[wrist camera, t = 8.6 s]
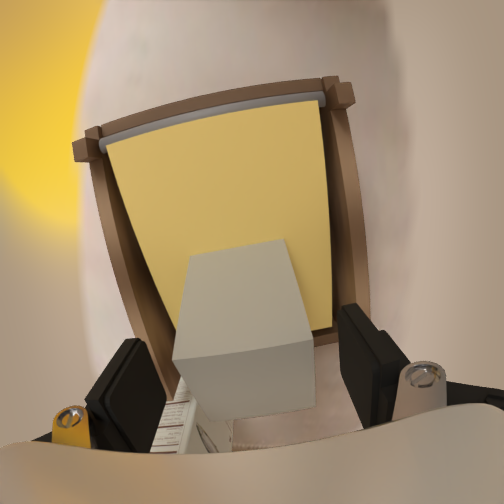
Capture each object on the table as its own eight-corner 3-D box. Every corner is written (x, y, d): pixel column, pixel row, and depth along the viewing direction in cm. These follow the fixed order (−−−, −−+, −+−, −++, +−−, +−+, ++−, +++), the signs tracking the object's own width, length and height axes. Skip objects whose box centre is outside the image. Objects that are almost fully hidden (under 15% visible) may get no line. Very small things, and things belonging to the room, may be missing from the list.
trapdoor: (104, 136, 13) (96, 140, 13) (319, 90, 13) (324, 91, 12) (181, 340, 21) (180, 351, 20) (334, 315, 20) (337, 325, 20)
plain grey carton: (190, 255, 16) (171, 360, 10) (283, 238, 16) (313, 339, 10) (213, 322, 19) (209, 421, 13) (292, 308, 19) (316, 407, 13)
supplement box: (236, 418, 26) (231, 531, 14) (167, 428, 27) (140, 529, 14) (207, 359, 24) (182, 483, 12) (133, 374, 25) (80, 479, 13)
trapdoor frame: (131, 140, 20) (70, 125, 12) (311, 103, 20) (346, 64, 11) (181, 347, 24) (156, 416, 16) (341, 320, 24) (378, 383, 15)
